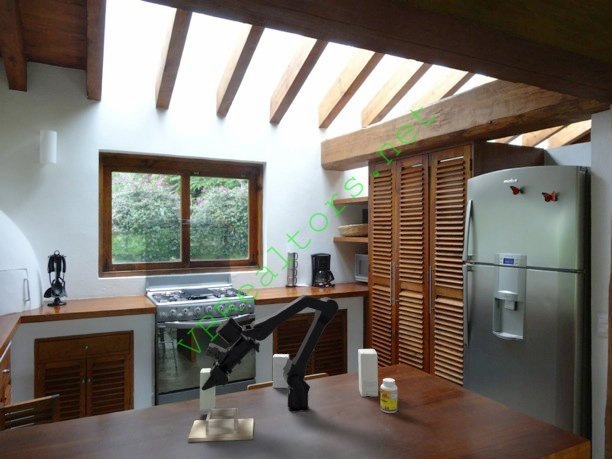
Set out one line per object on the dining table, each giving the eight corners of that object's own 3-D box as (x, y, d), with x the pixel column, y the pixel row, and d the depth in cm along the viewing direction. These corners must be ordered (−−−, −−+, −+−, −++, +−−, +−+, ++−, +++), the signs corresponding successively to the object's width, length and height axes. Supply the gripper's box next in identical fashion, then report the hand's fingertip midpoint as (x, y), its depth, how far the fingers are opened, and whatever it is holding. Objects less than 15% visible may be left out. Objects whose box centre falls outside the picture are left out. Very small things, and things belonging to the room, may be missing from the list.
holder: (253, 421, 134) (253, 405, 134) (252, 439, 122) (252, 421, 123) (194, 423, 133) (194, 407, 133) (188, 441, 121) (188, 423, 121)
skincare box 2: (378, 397, 156) (378, 354, 157) (360, 396, 156) (360, 353, 157) (374, 389, 165) (375, 348, 165) (357, 389, 165) (357, 348, 165)
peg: (215, 404, 142) (215, 368, 143) (213, 409, 138) (214, 372, 138) (201, 405, 142) (202, 368, 142) (199, 410, 137) (200, 372, 138)
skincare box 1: (289, 384, 169) (289, 354, 169) (287, 388, 165) (288, 357, 165) (274, 384, 170) (274, 353, 170) (272, 387, 165) (272, 356, 166)
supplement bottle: (377, 408, 145) (377, 378, 146) (391, 406, 148) (391, 376, 148) (386, 414, 140) (386, 383, 141) (400, 412, 142) (400, 381, 143)
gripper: (223, 329, 150) (190, 361, 149) (217, 341, 132) (180, 379, 130) (245, 351, 151) (213, 384, 149) (243, 367, 132) (206, 404, 131)
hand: (203, 387), depth 140 cm, fingers closed on peg, 4 cm apart
